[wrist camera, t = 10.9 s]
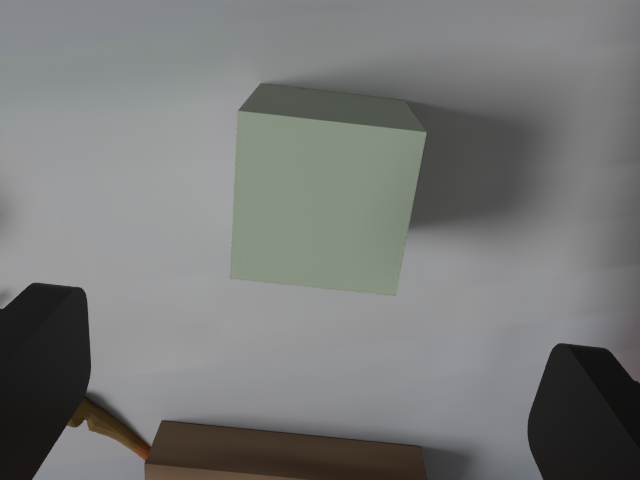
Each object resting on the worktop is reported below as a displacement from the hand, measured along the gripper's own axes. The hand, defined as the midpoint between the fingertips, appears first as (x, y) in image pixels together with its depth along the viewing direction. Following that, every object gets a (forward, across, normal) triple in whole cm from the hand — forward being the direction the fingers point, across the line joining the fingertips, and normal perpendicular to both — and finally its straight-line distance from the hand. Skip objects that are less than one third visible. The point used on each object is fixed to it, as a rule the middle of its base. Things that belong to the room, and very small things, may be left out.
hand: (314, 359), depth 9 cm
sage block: (+12, 0, 0) cm, 12 cm away
